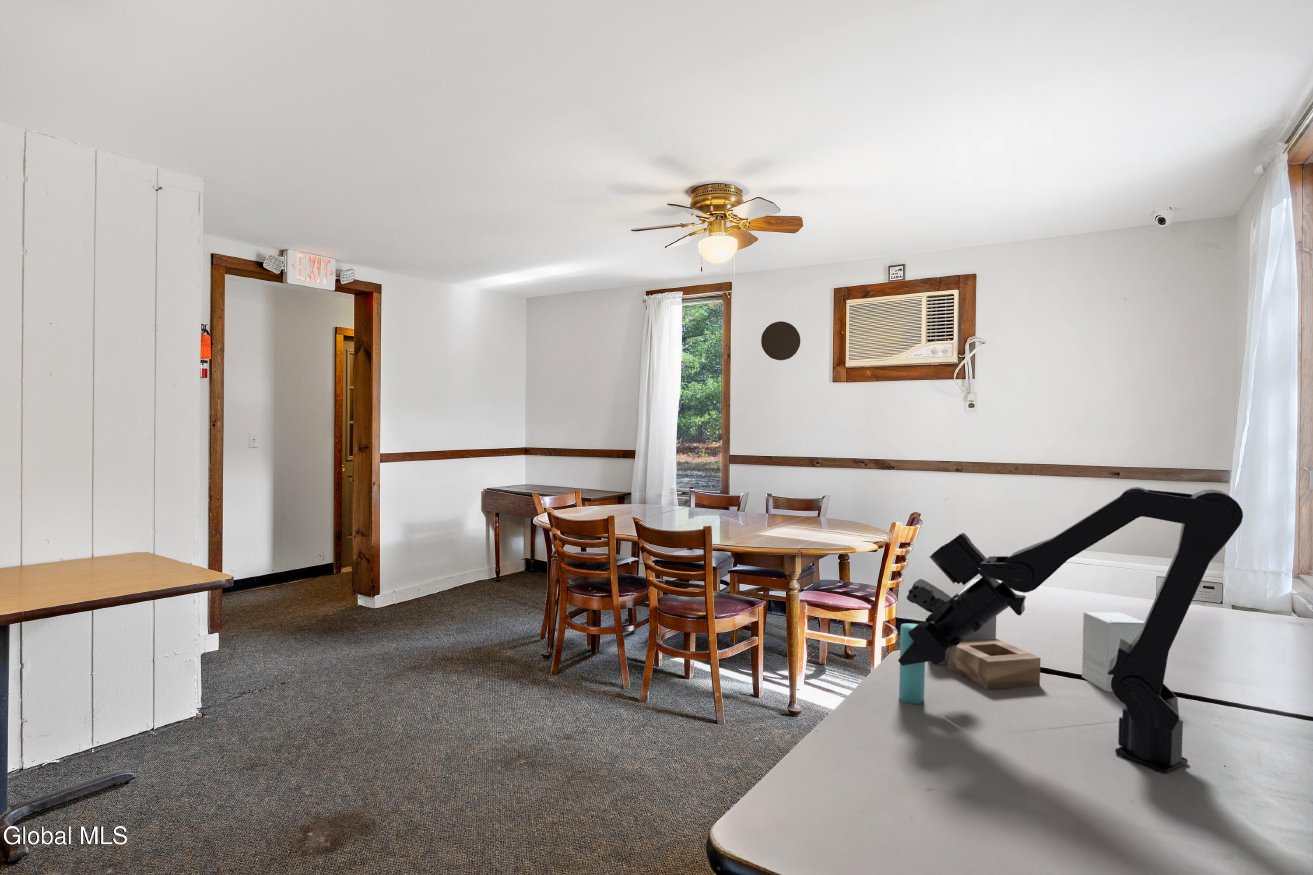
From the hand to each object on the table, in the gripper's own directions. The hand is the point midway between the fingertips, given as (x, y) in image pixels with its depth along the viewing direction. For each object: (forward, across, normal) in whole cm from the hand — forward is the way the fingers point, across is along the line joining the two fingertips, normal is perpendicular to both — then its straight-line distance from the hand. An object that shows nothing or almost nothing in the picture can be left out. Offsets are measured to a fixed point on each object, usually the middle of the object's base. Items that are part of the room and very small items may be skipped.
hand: (904, 659), depth 116 cm
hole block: (-3, -20, +12) cm, 24 cm away
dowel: (+4, 0, +6) cm, 7 cm away
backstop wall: (+2, -26, +7) cm, 27 cm away
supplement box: (-16, -30, +25) cm, 42 cm away
